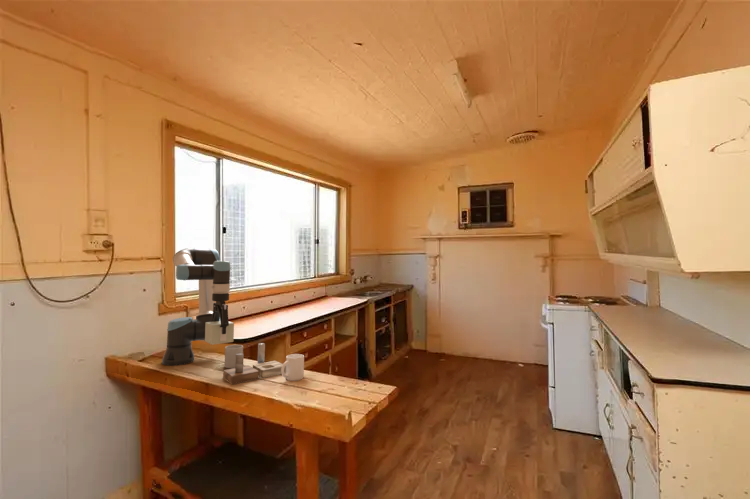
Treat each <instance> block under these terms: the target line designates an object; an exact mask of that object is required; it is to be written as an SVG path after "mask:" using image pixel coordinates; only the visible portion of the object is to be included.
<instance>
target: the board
mask: <svg viewBox="0 0 750 499" xmlns="http://www.w3.org/2000/svg"><path fill="white" fill-rule="evenodd" d="M244 355H245V354H244V353H243V354H236V362H235V368H226V369H223V373H222V374H223V376H222V378H223V379H224V380H225V381H227V382H228V383H230V384H231V385H236V384H240V383H246V382H251V381H254V380H259V379H260V378H259V377H260V376H259V371H258V370H256V369H254V368H253V366H250V365H244Z"/></svg>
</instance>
